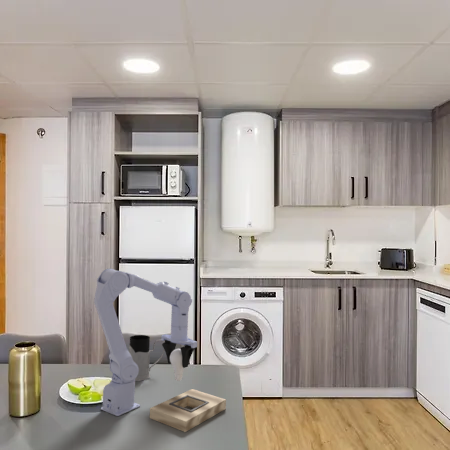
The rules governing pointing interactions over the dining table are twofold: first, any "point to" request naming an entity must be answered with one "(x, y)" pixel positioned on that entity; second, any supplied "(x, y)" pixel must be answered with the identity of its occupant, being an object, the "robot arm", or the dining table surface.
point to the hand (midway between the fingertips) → (178, 364)
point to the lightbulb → (177, 363)
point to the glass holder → (142, 355)
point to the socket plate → (184, 418)
